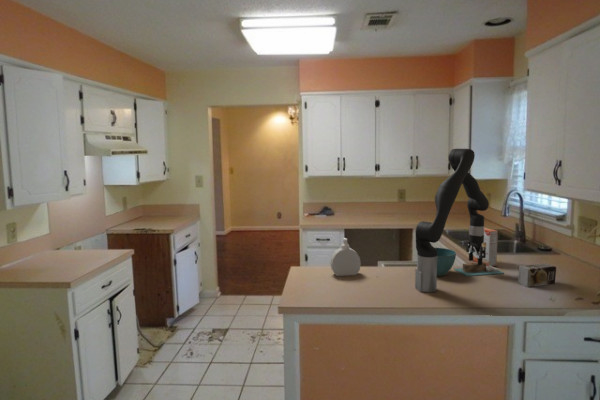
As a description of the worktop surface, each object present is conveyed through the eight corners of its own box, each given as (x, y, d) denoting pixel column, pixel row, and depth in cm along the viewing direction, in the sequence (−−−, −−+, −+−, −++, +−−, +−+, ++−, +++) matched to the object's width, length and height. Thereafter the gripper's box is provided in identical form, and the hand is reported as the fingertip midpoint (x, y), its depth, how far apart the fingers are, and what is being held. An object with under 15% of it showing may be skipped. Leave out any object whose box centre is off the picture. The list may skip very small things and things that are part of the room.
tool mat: (465, 276, 210) (466, 275, 210) (454, 269, 222) (454, 268, 222) (503, 273, 213) (503, 272, 213) (490, 267, 225) (490, 266, 225)
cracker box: (470, 260, 239) (472, 226, 236) (479, 259, 241) (480, 225, 238) (488, 267, 226) (489, 231, 223) (496, 265, 228) (498, 230, 225)
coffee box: (528, 269, 192) (556, 266, 195) (518, 265, 198) (546, 262, 201) (527, 287, 193) (555, 284, 196) (517, 283, 199) (545, 280, 202)
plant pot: (413, 272, 218) (413, 251, 217) (432, 266, 229) (433, 245, 228) (442, 281, 204) (443, 258, 202) (462, 273, 215) (462, 251, 213)
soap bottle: (358, 271, 222) (358, 237, 219) (360, 274, 217) (360, 239, 214) (330, 273, 220) (329, 238, 217) (332, 276, 215) (331, 240, 212)
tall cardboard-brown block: (467, 273, 213) (467, 266, 213) (460, 269, 220) (460, 262, 219) (498, 271, 216) (498, 264, 215) (490, 267, 222) (490, 260, 222)
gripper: (462, 231, 221) (461, 259, 223) (477, 236, 207) (476, 266, 209) (475, 230, 222) (474, 258, 224) (491, 236, 208) (489, 266, 210)
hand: (475, 262), depth 217 cm, fingers open, 8 cm apart
